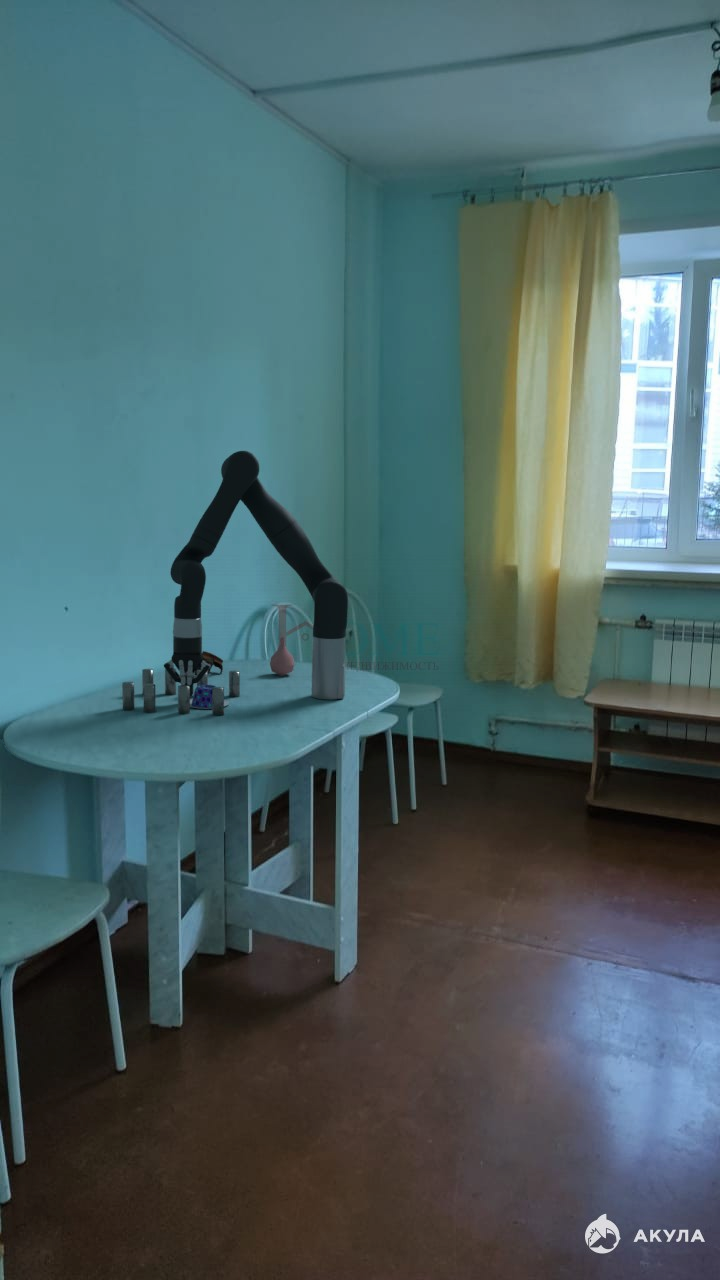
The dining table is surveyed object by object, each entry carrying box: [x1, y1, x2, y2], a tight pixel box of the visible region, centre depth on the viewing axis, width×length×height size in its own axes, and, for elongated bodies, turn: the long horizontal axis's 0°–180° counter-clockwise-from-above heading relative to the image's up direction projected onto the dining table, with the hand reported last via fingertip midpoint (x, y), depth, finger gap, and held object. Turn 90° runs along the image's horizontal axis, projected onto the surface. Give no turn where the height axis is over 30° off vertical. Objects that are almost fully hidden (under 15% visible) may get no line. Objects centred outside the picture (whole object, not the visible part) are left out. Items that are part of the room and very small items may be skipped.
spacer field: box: [121, 668, 241, 717], centre depth 249 cm, size 27×25×7 cm
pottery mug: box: [194, 650, 224, 677], centre depth 288 cm, size 12×10×8 cm
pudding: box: [190, 684, 230, 710], centre depth 248 cm, size 12×12×5 cm
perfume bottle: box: [269, 636, 295, 677], centre depth 290 cm, size 8×8×12 cm
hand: (187, 697), depth 249 cm, fingers closed
